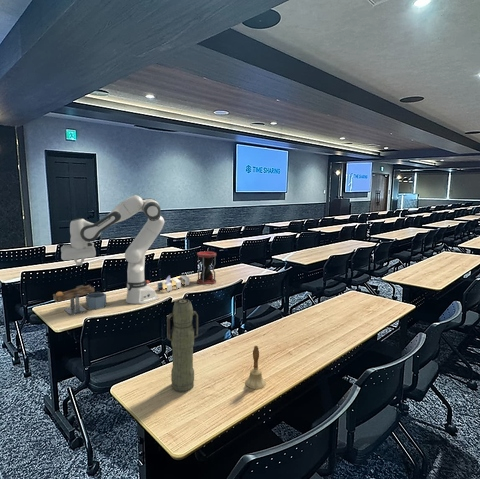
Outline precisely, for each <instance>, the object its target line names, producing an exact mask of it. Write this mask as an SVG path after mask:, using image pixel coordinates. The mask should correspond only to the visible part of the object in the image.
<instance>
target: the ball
mask: <svg viewBox="0 0 480 479" xmlns="http://www.w3.org/2000/svg"><path fill="white" fill-rule="evenodd" d="M62 292H63V291H57V292H56V293H55V294H56V296H57V297H59V296H63V293H62Z"/></svg>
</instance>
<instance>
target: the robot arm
mask: <svg viewBox="0 0 480 479" xmlns="http://www.w3.org/2000/svg"><path fill="white" fill-rule="evenodd" d="M161 211H162V209H161V205H160V203H159V202H158V201H157V199H154V198H150V197H149V198H142V197H141V196H139V195H138V194H135V195H132V196H130V197H128V198H126V199H124V200H122V201H121V202H119V203H118V204H117V205H115V206H114V207H113V209H112V210H111V211H110V212H108V214H107V215H106V216H105V217H103V218H102V219H99V220H98V221H96V222H95V223H93V222H90V221H88V220H85V218H80V217H79V218H75V219H72V220H71V221H70V224H69V233H70V244H67V245H65V244H64V245H63V246H61V247H60V252H61V254H60V256H61V257H60V258H61V260H63V261H69V260H70V261H72V260H73V261H74V262H75V266H83V263H84V261H85V259H86V258H95V257H96V256H97V251H96V247H95V243H94V241H96V240H97V239H98V238H99V237H100V236H101V234H102V232H103V231H105V230H107V229H108V228H110V227H111V226H112V225H115V224H117V223H120V222H123V221H125V220H128V219H130V218H131V217H133V216H134V215H136V214H137V213H139V212H143V213H144V215H145V217H146V218H147V221H146V222H145V224H144V225H143V226H142V227H141V230H140V231H139V233H138V234H137V235H136V236H135V238H134V239H133V240H132V242H131V243H130V244H129V245H128V247H127V249H126V250H125V252H124V259H125V260H126V262H128V263H127V270H126V272H127V276H126V277H127V281H126V289H127V291H126V292H127V293H126V297H125V302H126V303H127V304H134V305H135V304H136V305H144V304H147V303H150V302H153V301H156V300H159V299H160V297H159V295H158V294H157V293H156V290H155V289H154V288H152V287H151V286H150V285H148V284H150V282H151V281H150V280H146V279H145V265H146V264H145V263H146V261H145V260H146V253H147V251H148V250H149V248H150V247H151V246H152V244H153V243H154V241H155V240H156V239H157V237H158V236H159V234H160V233H161V231H162V229H163V227H164V225H165V223H166V221H165V219H164V217H163V216H161V214H162V213H161ZM78 259H80V261H79V262H78Z"/></svg>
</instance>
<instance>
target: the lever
mask: <svg viewBox="0 0 480 479" xmlns="http://www.w3.org/2000/svg"><path fill="white" fill-rule="evenodd" d="M61 292H62V293H63V296H59V297H57V296H56V293H53V294H52V297H53V300H54V301H55V302H57V303H60V302H61V303H62V302H64V301H67V300H70V299H71V298H74V299H75V294H79V297H82V296H86V295H88V294H91V293H96V292H95V287H94V286H91V284H88V285H84V284H81V285H77V286H75V288H73V289H69V290H67V291H61Z"/></svg>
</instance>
